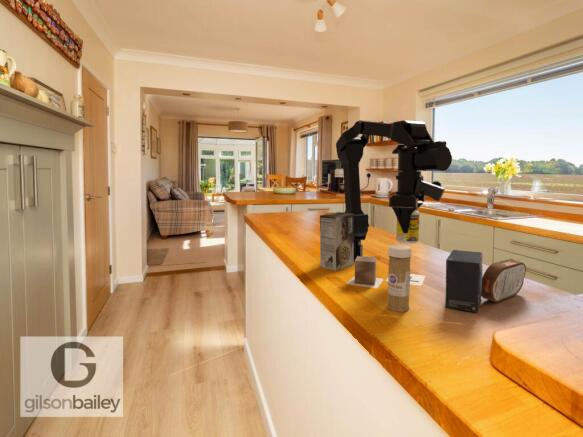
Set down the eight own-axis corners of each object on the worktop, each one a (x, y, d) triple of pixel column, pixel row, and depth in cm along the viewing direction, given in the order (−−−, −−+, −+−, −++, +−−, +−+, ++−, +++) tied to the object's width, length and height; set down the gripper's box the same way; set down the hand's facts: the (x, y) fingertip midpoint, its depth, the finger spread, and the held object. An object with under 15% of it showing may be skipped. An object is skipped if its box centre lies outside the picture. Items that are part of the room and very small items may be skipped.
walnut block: (354, 283, 88) (354, 260, 87) (357, 277, 92) (357, 256, 92) (374, 285, 86) (374, 262, 85) (376, 279, 91) (376, 257, 90)
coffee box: (337, 261, 110) (337, 211, 108) (354, 264, 105) (354, 213, 103) (319, 267, 104) (318, 214, 101) (336, 271, 99) (336, 216, 97)
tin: (511, 289, 82) (515, 255, 80) (525, 293, 79) (530, 258, 78) (476, 302, 74) (480, 264, 72) (491, 307, 71) (496, 268, 70)
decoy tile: (345, 284, 88) (345, 283, 88) (355, 275, 95) (355, 275, 95) (376, 288, 84) (376, 288, 84) (384, 279, 91) (384, 278, 91)
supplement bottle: (409, 245, 86) (410, 204, 85) (391, 241, 91) (392, 203, 89) (423, 242, 89) (424, 203, 88) (405, 238, 94) (406, 201, 92)
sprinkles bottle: (383, 309, 72) (384, 246, 70) (392, 302, 75) (393, 242, 73) (404, 314, 69) (406, 249, 67) (413, 307, 72) (415, 245, 70)
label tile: (385, 281, 89) (385, 280, 89) (392, 272, 97) (392, 271, 97) (421, 286, 85) (421, 285, 85) (425, 276, 93) (425, 275, 93)
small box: (479, 313, 68) (480, 262, 67) (444, 308, 71) (444, 259, 70) (483, 296, 77) (483, 251, 76) (451, 292, 80) (451, 249, 79)
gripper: (440, 171, 75) (437, 240, 78) (446, 170, 92) (443, 227, 94) (389, 172, 80) (387, 236, 83) (403, 171, 97) (402, 225, 99)
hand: (407, 231), depth 89 cm, fingers closed on supplement bottle, 6 cm apart
